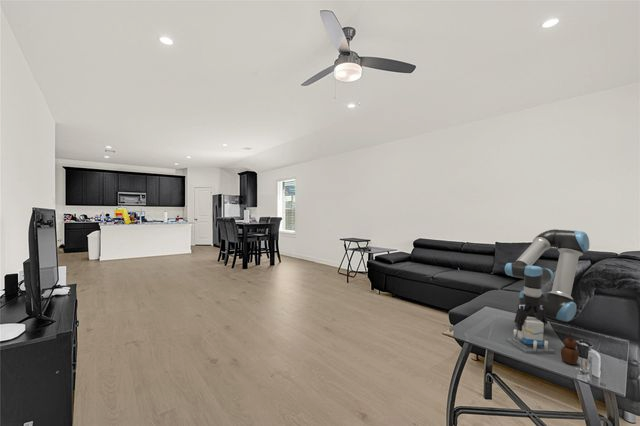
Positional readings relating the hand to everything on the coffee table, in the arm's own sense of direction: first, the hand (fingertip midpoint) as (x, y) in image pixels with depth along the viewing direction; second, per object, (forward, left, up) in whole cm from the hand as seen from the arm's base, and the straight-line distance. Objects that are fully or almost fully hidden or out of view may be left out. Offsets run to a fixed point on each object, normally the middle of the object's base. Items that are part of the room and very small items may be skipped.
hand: (530, 336), depth 151 cm
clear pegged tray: (0, 0, -5) cm, 5 cm away
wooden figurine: (-7, +16, -5) cm, 18 cm away
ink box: (0, 0, -2) cm, 2 cm away
